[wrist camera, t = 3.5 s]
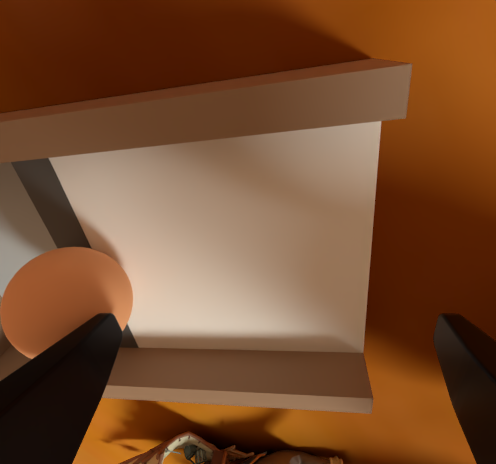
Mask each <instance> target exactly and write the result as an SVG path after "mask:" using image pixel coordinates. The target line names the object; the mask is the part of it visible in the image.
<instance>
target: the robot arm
mask: <svg viewBox="0 0 496 464" xmlns="http://www.w3.org/2000/svg"><path fill="white" fill-rule="evenodd" d="M122 338H123V332H122V329H121V327H120V325H119V323H118V321H117V319H116V317H115V315H114V314H112V313H99V314H97V315H95V316H94V317H92V318H91V319H90V320H88V321H87V322H85V323H84V324H82V325H81V326H79V327H78V328H76V329H75V330H74V331H72V332H71V333H69V334H68V335H66V336H65V337H63V338H62V339H60V340H59V341H58V342H56V343H55V344H53V345H52V346H50V347H49V348H47V349H46V350H44V351H43V352H42V353H40V354H39V355H37V356H36V357H34V358H33V359H31V360H30V361H28V362H27V363H26V364H24V365H23V366H21V367H20V368H18V369H17V370H15V371H14V372H12V373H11V374H10V375H8V376H7V377H5V378H4V379H2V380H1V381H0V464H72V463H73V460H74V458H75V456H76V454H77V451H78V449H79V447H80V445H81V443H82V440H83V438H84V436H85V434H86V431H87V429H88V427H89V425H90V422H91V420H92V418H93V416H94V413H95V411H96V409H97V407H98V404H99V402H100V400H101V398H102V395H103V393H104V391H105V388H106V385H107V383H108V380H109V377H110V374H111V371H112V368H113V365H114V362H115V360H116V357H117V354H118V351H119V348H120V345H121V342H122ZM433 340H434V346H435V349H436V352H437V356H438V359H439V362H440V366H441V369H442V372H443V376H444V379H445V382H446V386H447V389H448V392H449V396H450V399H451V402H452V405H453V408H454V410H455V413H456V415H457V418H458V420H459V423H460V425H461V427H462V430H463V432H464V435H465V437H466V439H467V442H468V444H469V446H470V449H471V451H472V453H473V456H474V458H475V461H476V463H477V464H496V341H495V340H494V339H492V338H491V337H490V336H488V335H487V334H486V333H484V332H483V331H482V330H480V329H479V328H478V327H476V326H475V325H474V324H472V323H471V322H470V321H468V320H467V319H466V318H464V317H463V316H461V315H459V314H455V313H443V314H440V315H439V317H438V320H437V324H436V328H435V332H434V337H433Z"/></svg>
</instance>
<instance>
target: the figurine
mask: <svg viewBox="0 0 496 464" xmlns="http://www.w3.org/2000/svg"><path fill="white" fill-rule="evenodd" d="M177 448H184V453H185V457H186V459H187V460H190V461H191V462H192V463H193V464H200V463H203V462H205V463H204V464H230V463H229V462H232V461H236V460H239V459H242V458H246V457H249V456H252V455H254V452H251V453H248V454H246V453H243V452H241V451H238V450H235V449H234V448H235V445H233V446H231V447H228V448H226V449H223V450H222V449H221V450H219V449H217V448H216V446H215V445H213V444H211V443H208V442H207V441H205V440H204V439H202V438H201V436H200V437H199V436H197V435H195V434H193V433H191V432H190V431H188V432H185V433H182V434H179V435H176V436H175V437H173V438H172V439H171V440H167V441H165V442H163V443H161V444H160V445H158V446H156V447H154V448H153V449H150V450H149V451H147V452H145V453H143V454H140V455H138V456H135V457H133V458H131V459H128V460H126V461H124V462H122V463H119V464H162V463H163V459H164V458H165V457H166V456H167V455H168V454H169V453H170V452H174V453H178V452H175V451H173V450H174V449H177ZM229 451H231V452H234V453H237V454H239V455H237V454H234V453H231V452H229ZM179 454H181V453H180V452H179ZM227 454H228V455H227ZM266 454H267V451H266V452H264V453H261V454H257V455H255V456H252V457H250V458H249V459H247V460H245V461H243V462H241V463H239V464H343V461H342V459H341V458H340V459H339V458H338V456H335V457H334V458H331V457H330V458H329V460H328V459H324V458H320V457H317V456H314V455H311V454H308V453H304V452H301V451H296V450H281V451H277V452H274V453H272V454H270V455H268V456H265V455H266ZM194 455H195V461H197V457H198V462H197V463H194V462H193V461H192V460H191V458H192V457H193V456H194ZM198 455H199V456H198ZM230 455H231V456H230ZM240 455H242V456H240ZM232 456H233V457H232ZM235 457H236V458H235ZM199 459H200V462H199ZM201 460H202V461H201Z"/></svg>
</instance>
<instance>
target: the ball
mask: <svg viewBox="0 0 496 464" xmlns="http://www.w3.org/2000/svg"><path fill="white" fill-rule="evenodd" d="M132 307H133V291H132V286H131V283H130V280H129V278H128V276H127V274H126V272H125V271H124V270H123V268H122V267H121V266H120V265H119V264H118V263H117V262H116V261H115V260H114V259H112V258H111V257H109V256H108V255H106V254H104V253H102V252H100V251H97V250H94V249H90V248H85V247H64V248H59V249H54V250H51V251H48V252H45V253H43V254H41V255H39V256H37V257H35V258H34V259H32V260H30V261H29V262H28V263H26V264H25V265H24V266H22V267H21V268H20V269H19V270H18V271H17V272H16V274H15V275H14V276H13V278H12V279H11V280H10V282H9V283H8V285H7V287H6V289H5V291H4V294H3V297H2V301H1V307H0V318H1V324H2V328H3V331H4V333H5V335H6V337H7V339H8V340H9V342H10V343H11V344H12V345H13V346H14V347H15V348H16V349H17V350H18V351H19V352H20V353H22V354H23V355H25V356H26V357H28V358H31V359H33V358H34V357H36V356H37V355H39V354H40V353H42V352H43V351H44V350H46V349H47V348H49V347H50V346H52V345H53V344H55V343H56V342H58V341H59V340H60V339H62V338H63V337H65V336H66V335H68V334H69V333H71V332H72V331H74V330H75V329H76V328H78V327H79V326H81V325H82V324H84V323H85V322H87V321H88V320H90V319H91V318H92V317H94V316H95V315H97V314H99V313H112V314H114V315H115V317H116V319H117V321H118V323H119V325H120V327H121V329H122V331H123V330H124V328H125V327H126V325H127V323H128V321H129V318H130V315H131V311H132Z"/></svg>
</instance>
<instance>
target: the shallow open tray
mask: <svg viewBox="0 0 496 464" xmlns="http://www.w3.org/2000/svg"><path fill="white" fill-rule="evenodd" d="M411 70H412V64H410V63H403V62H396V61H389V60H382V59H374V58H372V59H365V60H358V61H352V62H345V63H338V64H331V65H324V66H318V67H311V68H304V69H297V70H291V71H284V72H277V73H270V74H264V75H257V76H250V77H243V78H236V79H230V80H223V81H216V82H209V83H203V84H196V85H189V86H182V87H176V88H169V89H162V90H155V91H148V92H142V93H135V94H128V95H121V96H115V97H108V98H101V99H94V100H88V101H81V102H74V103H67V104H60V105H54V106H47V107H40V108H33V109H27V110H20V111H13V112H6V113H0V307H1V301H2V297H3V294H4V291H5V289H6V287H7V285H8V283H9V282H10V280H11V279H12V278H13V276H14V275H15V274H16V272H17V271H18V270H19V269H20V268H21V267H22V266H24V265H25V264H26V263H28V262H29V261H30V260H32V259H34V258H35V257H37V256H39V255H41V254H43V253H45V252H48V251H51V250H54V249H59V248H64V247H85V248H90V249H94V250H97V251H100V252H102V253H104V254H106V255H108V256H109V257H111V258H112V259H114V260H115V261H116V262H117V263H118V264H119V265H120V266H121V267H122V268H123V270H124V271H125V272H126V274H127V276H128V278H129V280H130V283H131V286H132V291H133V307H132V311H131V315H130V318H129V321H128V323H127V325H126V327H125V328H124V330H123V331H122V332H123V338H122V342H121V345H120V348H119V351H118V354H117V357H116V360H115V362H114V365H113V368H112V371H111V374H110V377H109V380H108V383H107V385H106V388H105V391H104V393H103V395H102V398H114V399H131V400H148V401H165V402H182V403H199V404H216V405H233V406H251V407H268V408H285V409H302V410H319V411H336V412H353V413H370V414H372V405H373V395H372V391H371V386H370V381H369V377H368V372H367V368H366V363H365V359H364V354H363V349H364V336H365V323H366V311H367V298H368V285H369V272H370V259H371V246H372V234H373V221H374V208H375V195H376V182H377V170H378V157H379V144H380V131H381V121H386V120H395V119H404V118H406V113H407V105H408V96H409V87H410V79H411ZM30 360H31V358H28V357H26V356H25V355H23V354H22V353H20V352H19V351H18V350H17V349H16V348H15V347H14V346H13V345H12V344H11V343H10V342H9V340H8V339H7V337H6V335H5V333H4V331H3V328H2V324H1V318H0V381H1V380H2V379H4V378H5V377H7V376H8V375H10V374H11V373H12V372H14V371H15V370H17V369H18V368H20V367H21V366H23V365H24V364H26V363H27V362H28V361H30Z"/></svg>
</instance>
